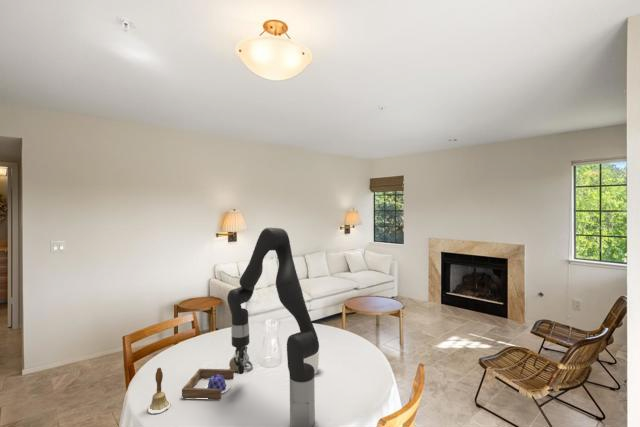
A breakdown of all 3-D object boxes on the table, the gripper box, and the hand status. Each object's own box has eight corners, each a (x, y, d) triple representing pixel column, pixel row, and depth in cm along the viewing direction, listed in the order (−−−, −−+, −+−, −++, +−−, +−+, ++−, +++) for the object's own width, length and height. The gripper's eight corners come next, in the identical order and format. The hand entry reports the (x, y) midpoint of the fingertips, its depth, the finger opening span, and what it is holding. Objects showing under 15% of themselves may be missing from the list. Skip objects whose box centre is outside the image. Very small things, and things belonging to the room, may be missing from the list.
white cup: (317, 376, 153) (316, 355, 153) (300, 375, 155) (300, 354, 155) (320, 368, 161) (320, 348, 161) (304, 367, 163) (304, 347, 162)
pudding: (205, 382, 149) (205, 371, 149) (232, 380, 151) (232, 369, 151) (199, 398, 137) (199, 385, 137) (228, 395, 139) (228, 383, 139)
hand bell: (164, 399, 136) (163, 361, 136) (174, 407, 131) (173, 367, 131) (143, 409, 130) (142, 369, 129) (153, 417, 124) (152, 376, 124)
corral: (220, 399, 135) (220, 390, 135) (182, 399, 136) (181, 389, 136) (233, 377, 153) (233, 369, 153) (199, 377, 154) (199, 368, 154)
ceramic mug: (228, 372, 158) (228, 356, 158) (234, 364, 166) (234, 349, 166) (249, 374, 157) (249, 358, 156) (255, 365, 165) (255, 350, 165)
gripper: (244, 339, 136) (245, 381, 136) (252, 328, 149) (253, 366, 149) (226, 339, 136) (227, 381, 136) (236, 328, 150) (237, 366, 150)
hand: (241, 373), depth 143 cm, fingers closed
